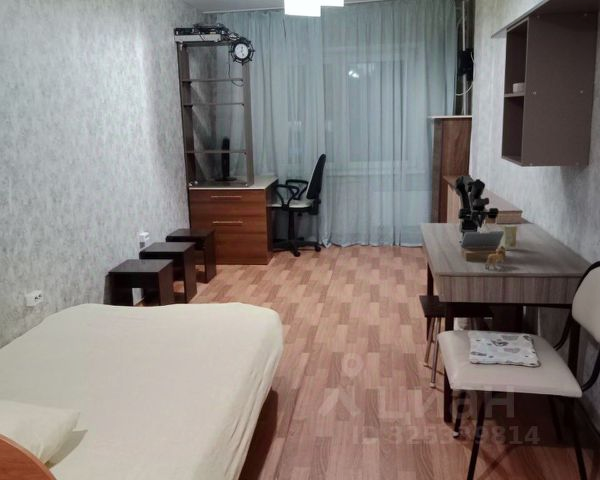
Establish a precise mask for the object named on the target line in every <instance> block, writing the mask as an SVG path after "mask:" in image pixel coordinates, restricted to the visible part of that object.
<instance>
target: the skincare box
mask: <svg viewBox="0 0 600 480" xmlns="http://www.w3.org/2000/svg"><path fill="white" fill-rule="evenodd" d="M517 227H518V226H517V225H515V224H506V225H505V224H504V225H501V229H500V230H501V231H503V232H504V234H503V236H502V239H501V241H500V243H499V246H503V247H504V248H505V251H510V250H511V251H512V250H516V242H517V241H516V240H517Z"/></svg>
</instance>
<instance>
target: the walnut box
mask: <svg viewBox="0 0 600 480" xmlns="http://www.w3.org/2000/svg"><path fill="white" fill-rule="evenodd" d="M498 247H499V246H498ZM498 247H461V246H460V256H461V257H462V258H463V259H464V260H465V261H466V262H487V260H488V256H489V255H490V254H496V253H497V252H496V250H497V248H498ZM504 261H506V257H505V258H504ZM499 262H501V260H500V261H499Z"/></svg>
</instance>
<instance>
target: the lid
mask: <svg viewBox="0 0 600 480" xmlns="http://www.w3.org/2000/svg"><path fill="white" fill-rule="evenodd" d="M503 234H504V232H503V231H500V230H499V231H497V230H495V231H494V230H492V231H490V230H489V229H488V230H486V229H485V230H480V231H477V232H465V234H464V237H463V240H462V239H461V241H462V243H460V248H461V247H499V246H500V244H501V239H502V236H503Z"/></svg>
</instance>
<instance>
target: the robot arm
mask: <svg viewBox="0 0 600 480" xmlns="http://www.w3.org/2000/svg"><path fill="white" fill-rule="evenodd" d="M485 188H486V183H485V182H484V181H482V180H481V179H480V178H479V179H478V178H477V179H475V180H474V179H473V178H472V176H471V175H470V174H461V175H460V177H458V178H457V179H456V180H455V182H454V183H453V189H454V190H455V193H456V195H458V196H459V199H460V206H461V208H460V209H459V210H458V213H457V218H458V219H459V220H461V221H460V224H459V227H458V231H459V233H461V234H462V237H461V241H459V243H460V244H461V243H462V240H463V237H464V234H465V232H478V230H479V229H481V228H482V226H483V222H484V220H486V218H488V219H491V220H493V219H496V218H497V217H498V215H499V212H500V211H499V209H498V207H489V209H488V210H485V209H486V206H489V204H490V198H489V197H485V198H482V195H483V193H484V191H485ZM478 228H479V229H478Z"/></svg>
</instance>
